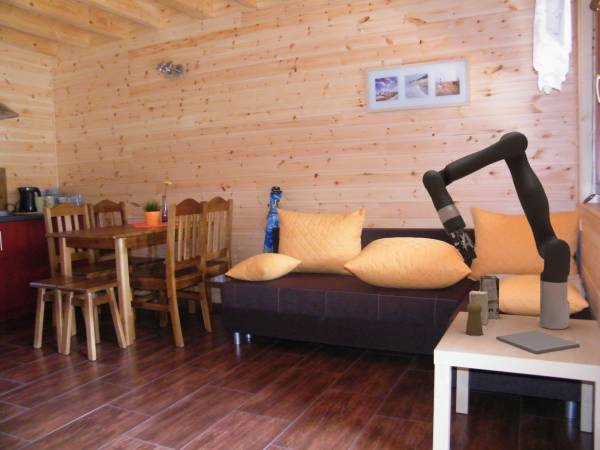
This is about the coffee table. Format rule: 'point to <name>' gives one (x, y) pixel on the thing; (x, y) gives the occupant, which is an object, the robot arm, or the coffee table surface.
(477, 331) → the cork
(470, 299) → the skincare box
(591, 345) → the coffee table surface
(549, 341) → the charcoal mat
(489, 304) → the coffee box
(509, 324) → the coffee table surface
